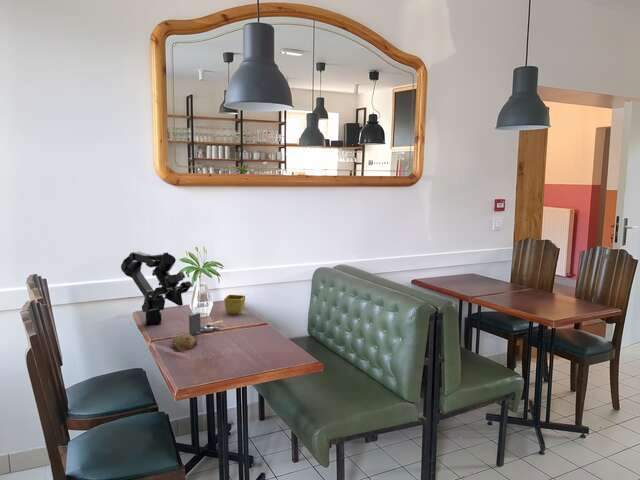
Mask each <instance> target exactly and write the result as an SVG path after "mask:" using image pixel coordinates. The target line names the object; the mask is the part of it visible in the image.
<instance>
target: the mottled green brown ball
mask: <svg viewBox="0 0 640 480" xmlns="http://www.w3.org/2000/svg"><path fill="white" fill-rule="evenodd" d="M170 344H171V349H172V352H174V353H183V354H184V353H185V354H186V352H185V351H188V350H192V349H194V348H195V347H196V346H197V344H198V342H197V339H196V337H195V336H194V335H190V334H189V333H183V334H178V335H176V336H175V337H173V339H172V340H171V343H170Z"/></svg>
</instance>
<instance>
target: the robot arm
mask: <svg viewBox="0 0 640 480" xmlns="http://www.w3.org/2000/svg"><path fill="white" fill-rule="evenodd" d="M176 261H177V260H176V257H175V256H174V255H173V254H169V252H162V253H157V254H156V253H154V254H150V253H146V252H141V251H132V252H130V253H129V255H128V256H127V257H126V258H124V259H123V261H122V263H121V265H120V269H121V271H122V272H123V274H124V275H125V276H127V277H129V278H131V279H132V280H133V282H134V284H135V285H136V286H137V288H138V290H139V291H140V292H141V294H142V295H143V297H144V298H143V304H142V305H141V311H142V312H144V313H145V324H144V325H145V326H158V325H161V323H162V321H163V313H162V312H161V311H163V310H165V305H166V300H168V301H170V302H172V303H173V304H175V305H177V306H179V307H181V306H183V305H184V303H183V298H182V294H184V293H187V292H188V291H189V290H190V289H191V287H192V286H193V284H192V282H191V281H189V280H186V281H184V279H185V278H186V276H185V273H184V272H183V271H179V272H177V273H175V274H171V273H170V271H171V269H172V268H173V266H175V263H176ZM143 263H144V264H145V266H146V267H148V268H154V269H152V274H151V275H152V276H153V277H154V276H155V277H156V279H157V281H158V287H156V288H155V289H153V287H152V286H151V285H150V282H148V280H147V279H146V277H145V276H144V274H143V273H142V271H141V270H142V266H143ZM180 282H181V283H180Z"/></svg>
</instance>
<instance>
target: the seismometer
mask: <svg viewBox="0 0 640 480" xmlns="http://www.w3.org/2000/svg"><path fill="white" fill-rule="evenodd" d="M223 322H224V320H222V319H221V320H219V321H218V320H217V321H215V322H212V323H210V324H207V323H205V324H203V325H201V312H195V313H190V314H188V328H189V333H188V334H190V335H192V336H195V335H199V334H202V333H210V332H214V331H220V326H215V325H217V324H220V323H223Z"/></svg>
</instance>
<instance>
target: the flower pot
mask: <svg viewBox="0 0 640 480" xmlns="http://www.w3.org/2000/svg"><path fill="white" fill-rule="evenodd" d="M223 300H224V308H225V312H226V313H227V314H233V315H240V314H242V312H243V310H244V307H245V301H246V295H242V294H241V295H240V294H228V295H226V296H225V297H224V299H223Z"/></svg>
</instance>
